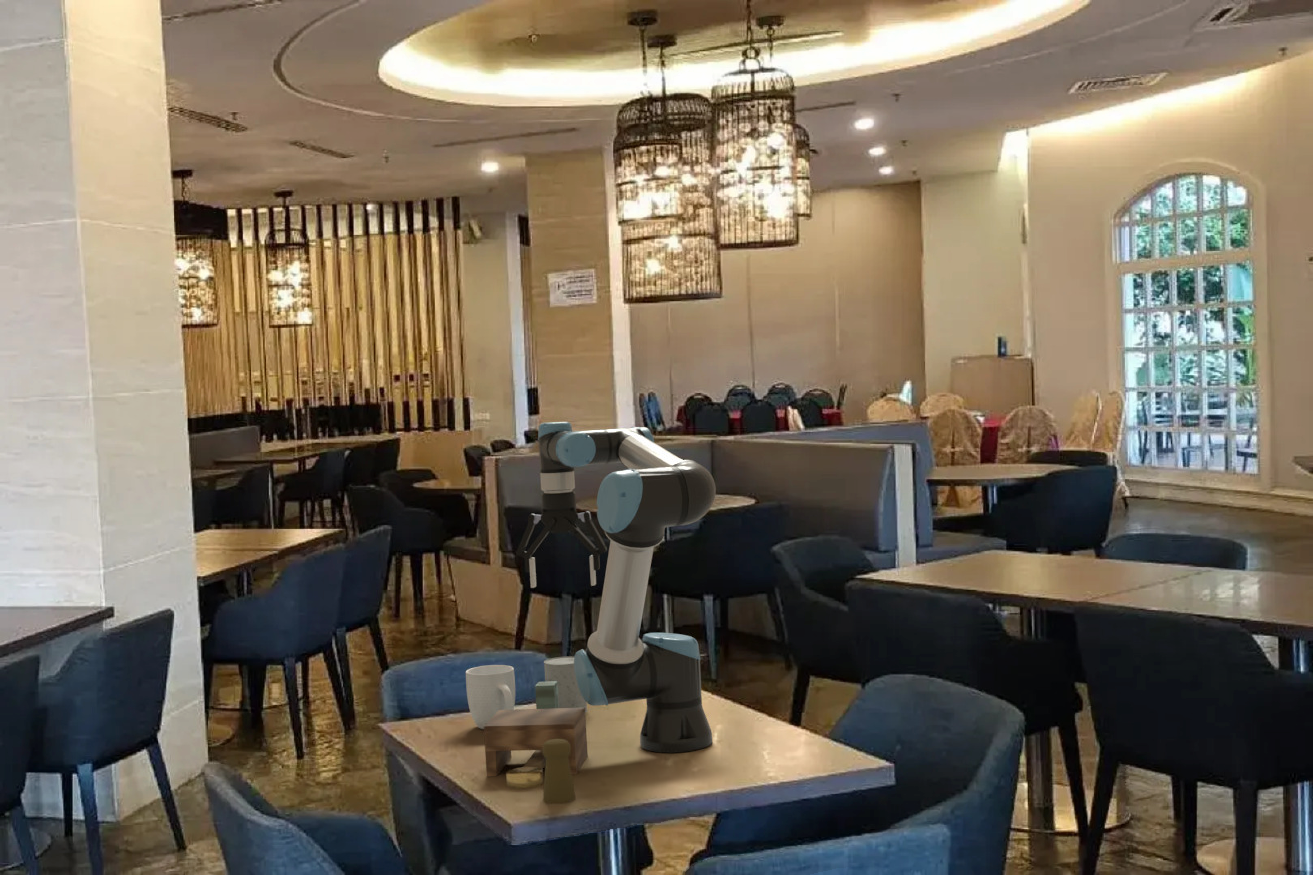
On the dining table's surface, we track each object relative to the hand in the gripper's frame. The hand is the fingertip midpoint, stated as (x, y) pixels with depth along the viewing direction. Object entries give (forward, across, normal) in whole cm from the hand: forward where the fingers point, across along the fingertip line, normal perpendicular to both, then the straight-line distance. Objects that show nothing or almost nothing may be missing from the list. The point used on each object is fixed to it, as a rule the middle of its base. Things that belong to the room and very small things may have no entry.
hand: (563, 586), depth 324 cm
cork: (+32, -7, +56) cm, 65 cm away
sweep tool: (+32, +1, +30) cm, 43 cm away
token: (+32, +1, +45) cm, 55 cm away
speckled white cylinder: (+32, +3, -14) cm, 35 cm away
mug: (+32, +18, -1) cm, 36 cm away
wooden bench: (+32, +1, +33) cm, 45 cm away
